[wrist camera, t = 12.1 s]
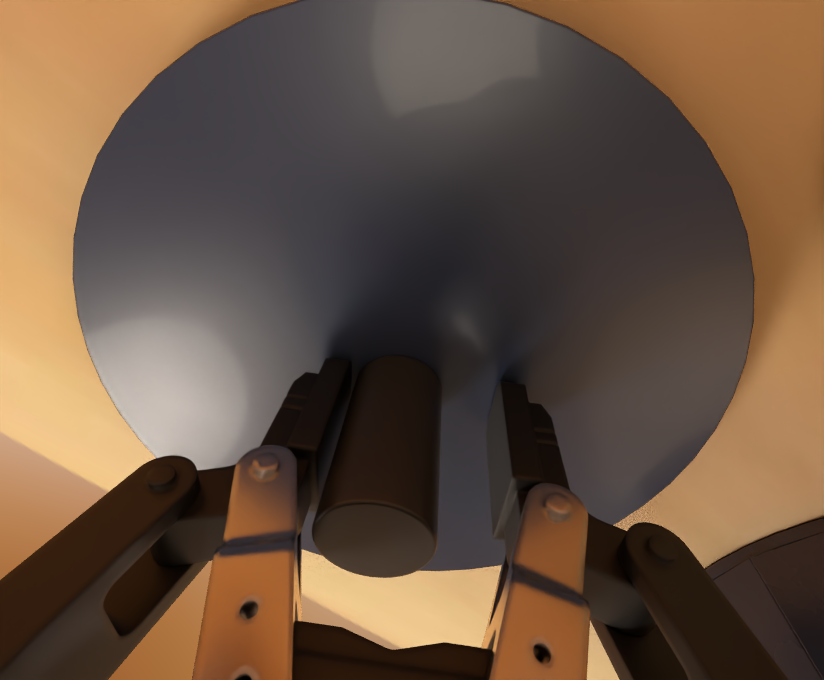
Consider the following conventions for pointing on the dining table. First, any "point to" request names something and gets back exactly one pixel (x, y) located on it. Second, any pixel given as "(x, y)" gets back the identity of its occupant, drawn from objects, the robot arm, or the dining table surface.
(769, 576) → the pan
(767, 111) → the dining table surface
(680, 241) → the pan lid
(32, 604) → the robot arm
